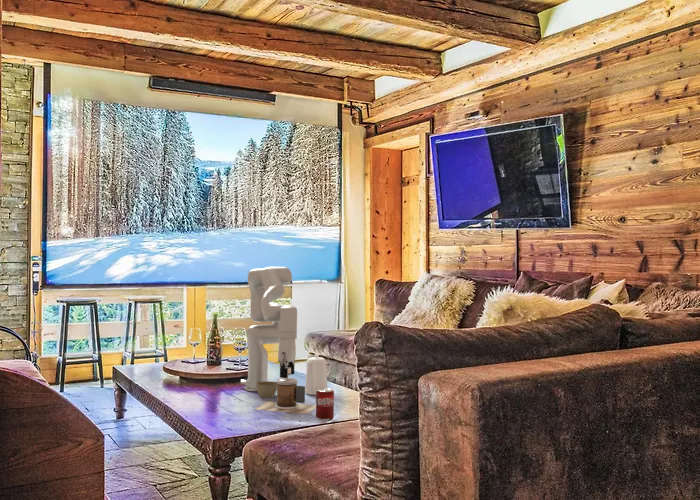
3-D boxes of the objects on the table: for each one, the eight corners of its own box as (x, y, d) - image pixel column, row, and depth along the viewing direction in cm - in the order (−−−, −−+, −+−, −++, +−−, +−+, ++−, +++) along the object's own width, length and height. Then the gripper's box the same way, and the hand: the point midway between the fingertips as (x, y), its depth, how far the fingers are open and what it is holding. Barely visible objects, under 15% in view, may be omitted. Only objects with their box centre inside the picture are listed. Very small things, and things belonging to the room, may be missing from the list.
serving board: (253, 412, 279) (253, 409, 279) (267, 403, 294) (267, 401, 294) (307, 416, 273) (307, 413, 273) (318, 408, 289) (318, 405, 289)
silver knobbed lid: (274, 382, 281) (274, 368, 281) (281, 379, 289) (281, 365, 289) (293, 384, 279) (293, 369, 279) (299, 380, 287) (300, 366, 287)
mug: (271, 409, 280) (271, 383, 280) (279, 403, 290) (280, 379, 290) (300, 411, 277) (301, 385, 277) (307, 406, 287) (308, 380, 287)
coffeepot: (297, 398, 307) (298, 357, 307) (311, 387, 332) (312, 350, 332) (320, 399, 305) (321, 359, 305) (332, 389, 329) (333, 351, 329)
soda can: (315, 417, 272) (316, 388, 273) (333, 417, 273) (333, 388, 273) (316, 421, 265) (316, 391, 265) (334, 421, 266) (334, 391, 266)
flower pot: (281, 397, 308) (281, 382, 308) (271, 401, 299) (272, 386, 299) (262, 395, 312) (262, 380, 312) (252, 399, 302) (252, 384, 302)
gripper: (286, 332, 293) (285, 371, 293) (272, 337, 276) (271, 379, 276) (302, 333, 291) (301, 373, 291) (289, 338, 275) (288, 380, 274)
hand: (287, 375), depth 284 cm, fingers open, 8 cm apart
